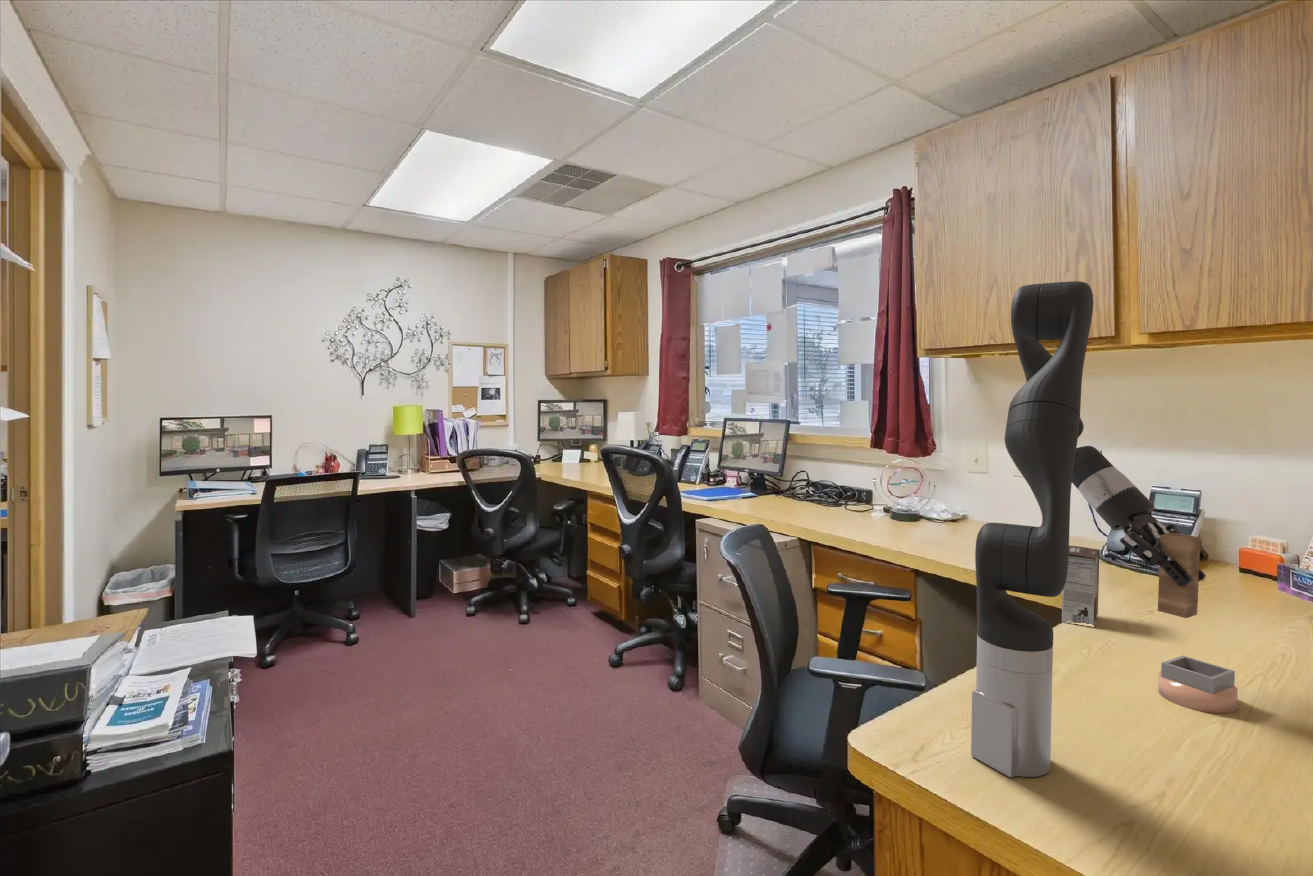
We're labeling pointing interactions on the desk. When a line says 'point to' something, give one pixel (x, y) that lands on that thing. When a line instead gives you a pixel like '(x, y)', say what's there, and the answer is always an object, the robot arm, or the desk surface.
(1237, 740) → the desk surface
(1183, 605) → the brown wooden block
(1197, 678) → the dish
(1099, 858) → the desk surface
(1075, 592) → the coffee box
